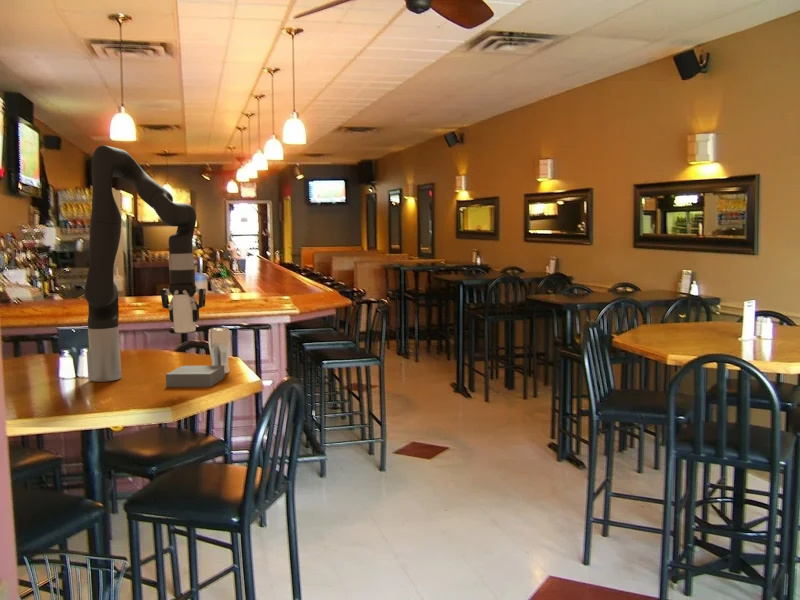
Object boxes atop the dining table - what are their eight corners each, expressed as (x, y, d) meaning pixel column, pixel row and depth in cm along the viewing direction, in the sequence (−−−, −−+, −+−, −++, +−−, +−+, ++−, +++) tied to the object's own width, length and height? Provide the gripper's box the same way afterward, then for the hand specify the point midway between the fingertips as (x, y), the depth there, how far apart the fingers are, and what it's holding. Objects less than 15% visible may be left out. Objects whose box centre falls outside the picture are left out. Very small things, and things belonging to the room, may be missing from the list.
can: (169, 333, 219) (167, 294, 218) (182, 330, 225) (180, 292, 224) (187, 333, 217) (185, 294, 216) (200, 330, 223) (197, 292, 222)
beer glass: (220, 370, 245) (218, 327, 243) (235, 371, 241) (233, 328, 240) (205, 373, 239) (203, 329, 237) (220, 375, 235) (218, 330, 234)
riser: (166, 387, 219) (165, 374, 218) (183, 377, 233) (182, 365, 232) (210, 386, 218) (210, 374, 218) (224, 377, 232) (224, 365, 231)
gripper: (154, 269, 216) (157, 323, 218) (199, 268, 215) (202, 323, 216) (164, 268, 223) (167, 320, 225) (208, 267, 222) (211, 319, 224)
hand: (184, 321), depth 221 cm, fingers closed on can, 6 cm apart
